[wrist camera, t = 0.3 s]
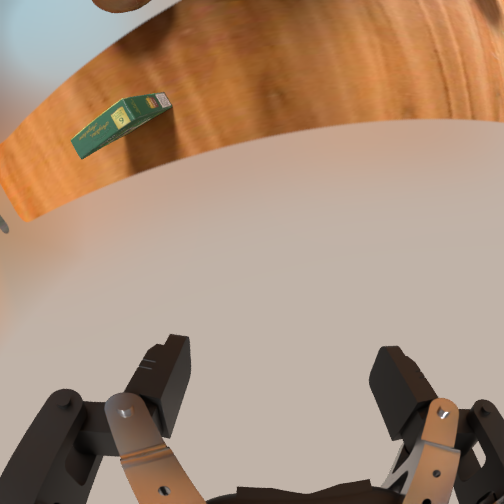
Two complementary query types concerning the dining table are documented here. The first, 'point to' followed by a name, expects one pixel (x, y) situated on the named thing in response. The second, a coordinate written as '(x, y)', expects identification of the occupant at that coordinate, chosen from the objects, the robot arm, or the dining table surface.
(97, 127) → the coffee box
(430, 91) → the dining table surface
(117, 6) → the onion
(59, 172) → the dining table surface
